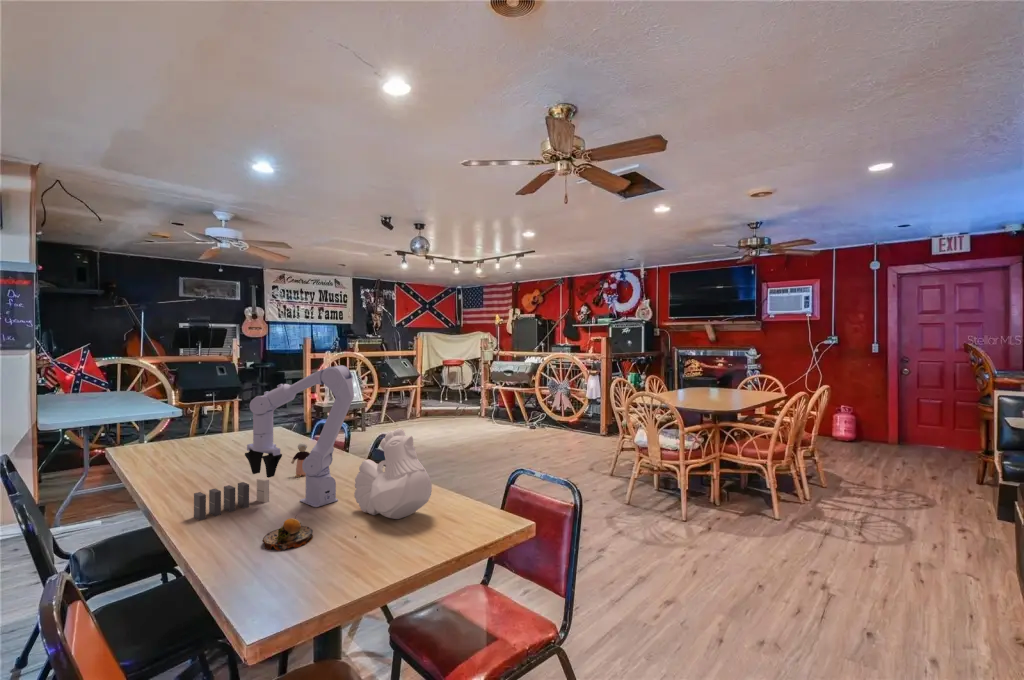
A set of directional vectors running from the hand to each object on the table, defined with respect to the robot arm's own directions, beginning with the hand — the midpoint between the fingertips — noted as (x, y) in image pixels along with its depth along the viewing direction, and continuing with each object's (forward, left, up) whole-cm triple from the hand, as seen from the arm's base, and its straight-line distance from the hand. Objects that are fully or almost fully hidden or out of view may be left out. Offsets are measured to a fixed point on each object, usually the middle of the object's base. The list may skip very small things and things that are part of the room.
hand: (263, 475), depth 150 cm
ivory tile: (0, 0, -8) cm, 8 cm away
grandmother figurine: (+16, -22, -9) cm, 29 cm away
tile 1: (0, +6, -8) cm, 10 cm away
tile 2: (0, +10, -8) cm, 13 cm away
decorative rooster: (-42, -17, -9) cm, 46 cm away
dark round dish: (-35, +11, -9) cm, 38 cm away
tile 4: (0, +18, -8) cm, 20 cm away
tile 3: (0, +14, -8) cm, 16 cm away
